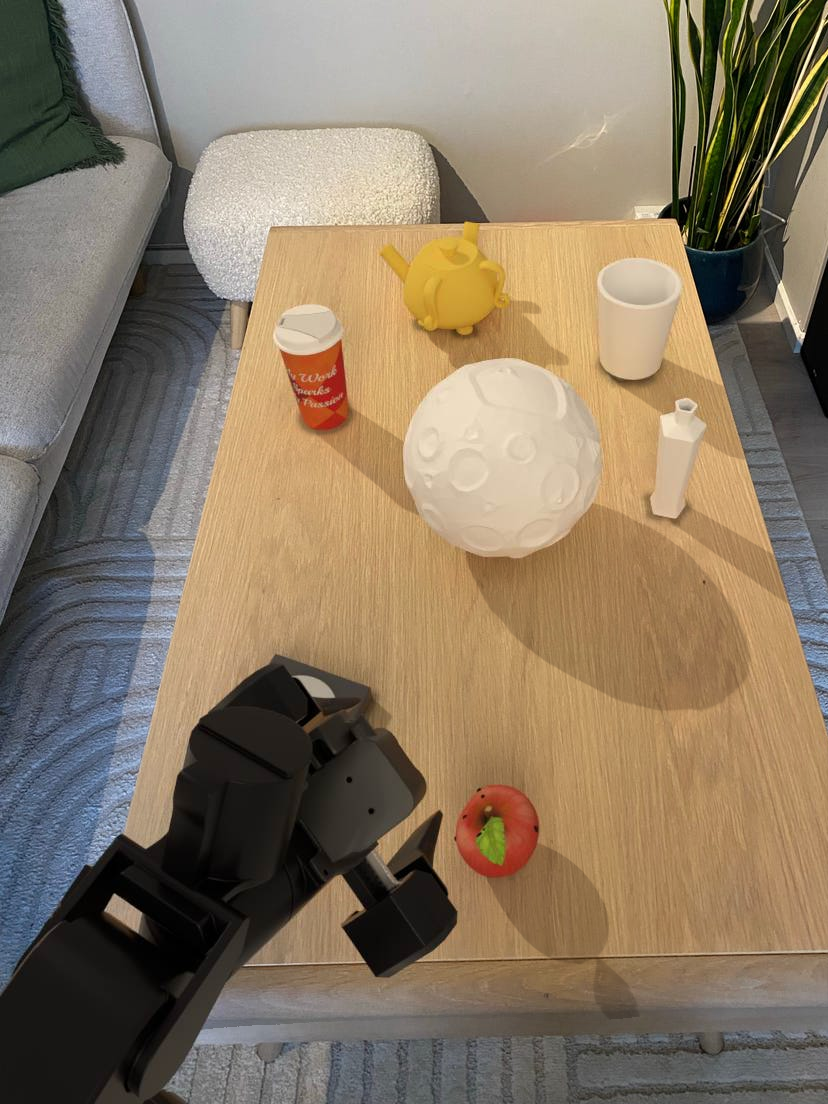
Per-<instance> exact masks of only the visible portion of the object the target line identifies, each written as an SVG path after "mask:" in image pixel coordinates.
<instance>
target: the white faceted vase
mask: <svg viewBox="0 0 828 1104" xmlns="http://www.w3.org/2000/svg"><path fill="white" fill-rule="evenodd" d="M674 403H675V408H674V411H673V412H670V413H665V414H662V415H660V417H659V430H658V444H657V457H656V474H655V483H654V485H655V486H654V491H653V492H652V494H651V495H650V497H649V500H650V505H651V511H652V513H653V515H655V516H660V517H664V518H670V519H677V518H678V517H679V515H680V514H681V513H682V511H683V510H684V509H685V507H686V505H687V504H686V499H685V494H686V491H687V488H688V485H689V482H690V478H691V476H692V472H693V469H694V466H695V463H696V460H697V458H698V457H697V456H698V453H699V451H700V447H701V444H702V441H703V438H704V435H705V432H706V428H707V425H708V424H707V423H706V422H704V421H703V420H702V419H700V418H699V417H698V416H697V415H695V414H696V409H697V408H698V407H699V406H698V404H697V403H696V402H695V401H693V399H691V398H690V397H684V398H680V399H677V400H675V402H674Z"/></svg>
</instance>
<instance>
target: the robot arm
mask: <svg viewBox="0 0 828 1104" xmlns="http://www.w3.org/2000/svg"><path fill="white" fill-rule="evenodd" d="M269 663H270V662H269ZM269 663H268V664H267V665H264V666H263V667H261V668H259V669H257V670H256V671H254V672H253V673H251V674H250V675H248V676H247V677H246V678H244V679H243V680H242V681H241V682H240V683H238V685H236V687H234V688H233V689H232V690H231V691H230V692H229V693H228V694H226V695H225V696H224V697H223V698H222V699H221V700H219V702H217V704H215V705H214V706H213V707H212V708H211V709H210V710H209V711H208V712H207V713H206V714H204V715H203V716H201V717H200V718H199V719H198V722H197V724H195V726H194V727H193V728H192V730H191V732H190V735H189V738H188V741H187V748H186V751H185V757H184V761H183V765H182V769H181V770H179V773H178V774H177V775H176V779H175V785H174V789H173V794H172V811H171V817H170V821H169V826H168V830H167V832H166V833H165V834H164V835H163V836H162V837H161V838H159V839H158V840H157V841H156V842H154V843H152V844H150V846H148V847H147V848H145V847H144V846H143V845H140V844H139V843H138V842H136V841H135V840H133V839H132V838H130V837H129V836H127V835H125V834H124V833H120V834H118V835H117V836H116V837H115V838H114V839H113V840H112V842H111V843H110V844H109V846H107V848H106V849H105V850H104V851H103V852H102V854H101V855H100V857H99V858H98V859H97V860H96V861H95V863H94V864H93V865H90V864H87V863H86V864H84V865H83V867H82V868H81V870H80V871H79V873H78V875H77V876H76V878H75V879H74V881H73V882H72V883H71V885H70V886H69V887H68V889H67V891H65V894H64V895H63V896H62V898H61V900H60V901H59V902H58V904H57V905H56V907H55V908H54V910H53V911H52V913H51V914H50V915H49V917H48V918H47V920H46V922H45V923H44V924H43V926H42V928H41V929H39V931H38V934H37V935H36V936H35V938H34V939H33V940H32V942H31V943H30V944H29V946H28V947H27V948H26V949H25V951H24V952H23V954H22V955H21V957H20V958H19V960H18V961H17V963H16V965H15V967H14V969H13V971H12V973H11V976H10V979H9V980H8V982H6V984H5V986H4V987H3V989H2V990H1V991H0V1104H189V1103H188V1101H186V1100H185V1099H184V1098H182V1096H179V1095H178V1094H177V1093H176V1092H174V1091H171V1090H168V1091H167V1090H166V1089H165V1087H166V1086H167V1085H168V1083H170V1081H171V1080H172V1079H173V1077H174V1076H175V1075H176V1074H177V1072H178V1071H179V1069H180V1068H181V1067H182V1065H183V1064H184V1062H185V1061H186V1059H187V1057H188V1055H189V1053H190V1052H191V1050H192V1048H193V1047H194V1045H195V1042H196V1041H197V1039H198V1037H199V1035H200V1033H201V1031H202V1029H203V1027H204V1026H205V1024H206V1021H207V1020H208V1018H209V1016H210V1014H211V1012H212V1010H213V1008H214V1006H215V1005H216V1002H217V1000H218V999H219V997H220V996H221V993H222V991H223V989H224V987H225V985H226V983H227V982H229V981H230V980H231V979H232V978H233V977H234V976H235V975H236V974H237V973H238V972H239V971H240V970H241V969H242V968H244V966H245V965H246V964H247V963H248V962H249V961H250V960H251V959H253V957H254V956H255V955H256V954H257V953H259V951H261V950H262V949H263V948H264V947H265V946H266V945H267V944H268V943H269V942H270V941H271V940H272V939H273V938H274V937H275V936H276V935H277V934H278V933H279V932H280V931H281V930H282V929H283V928H284V927H285V926H287V924H289V922H291V920H292V919H294V917H295V916H296V915H298V914H299V913H300V912H301V911H302V910H303V909H304V908H306V906H307V905H308V904H309V903H310V902H311V901H312V900H313V899H314V898H315V897H316V896H317V895H318V894H320V893H321V891H322V890H324V888H325V887H326V886H327V885H329V884H330V883H331V881H332V880H333V879H335V878H336V877H338V876H341V877H342V878H343V879H344V881H345V883H346V884H347V885H348V887H349V888H350V890H351V891H352V893H353V894H354V895H355V897H356V898H357V900H358V901H359V903H360V904H361V906H362V907H363V909H361V910H355V911H353V912H352V913H351V914H349V915H348V916H347V917H346V918H345V920H344V921H343V922H342V923H340V926H341V928H342V930H343V931H344V933H345V935H346V936H347V937H348V939H349V940H350V942H351V943H352V945H353V946H354V948H355V949H356V950H357V952H358V953H359V955H360V957H361V958H362V960H363V961H364V962H365V964H366V965H367V967H368V968H369V969H370V971H371V973H372V974H373V975H374V978H383V979H385V978H386V979H390V978H391V977H393V976H394V975H396V974H398V973H400V972H402V971H403V970H404V969H406V968H408V967H409V966H411V965H412V964H414V963H415V962H417V961H419V960H421V959H423V958H424V957H425V956H427V955H429V954H430V953H432V952H433V951H435V950H436V949H437V948H439V946H440V945H441V944H442V943H444V942H445V941H446V940H447V939H448V936H449V935H450V934H451V933H452V931H453V930H454V928H455V927H456V926H457V925H458V910H457V908H456V907H455V906H454V904H453V903H452V902H451V900H450V898H449V889H448V887H447V886H446V884H445V882H444V881H443V880H442V879H441V877H440V876H439V874H438V873H437V872H436V870H435V868H434V860H435V859H434V858H435V852H436V847H437V843H438V839H439V835H440V831H441V830H440V829H441V825H442V821H443V817H444V814H443V812H442V810H441V809H438V810H436V811H435V812H434V813H432V814H430V816H428V817H427V818H426V819H425V820H424V821H423V822H422V823H421V824H420V825H418V827H417V828H415V829H414V830H413V832H412V833H411V834H410V835H409V837H408V838H407V839H406V840H405V841H404V843H403V844H402V845H401V846H400V848H399V849H398V850H397V851H396V853H395V854H394V855H393V856H392V858H390V860H389V861H388V862H387V864H386V862H385V861H384V860H383V858H382V857H381V856H380V854H379V853H378V851H377V850H376V848H377V847H378V846H379V845H380V844H379V842H378V841H379V840H380V839H382V838H383V837H384V836H385V835H387V834H388V833H389V832H391V831H392V830H393V829H395V828H396V827H397V826H398V825H400V824H401V823H402V822H403V821H405V820H406V819H407V818H409V817H410V816H411V814H412V813H413V812H414V810H415V809H416V808H417V807H418V806H419V804H420V803H421V802H422V801H423V799H424V798H425V797H426V793H427V790H428V789H427V788H428V786H427V781H426V778H425V777H424V775H423V773H422V772H421V771H420V770H419V769H418V768H417V767H416V765H414V763H413V761H412V760H411V759H410V757H409V756H408V755H407V754H406V752H405V751H404V749H403V748H402V746H401V745H400V743H399V741H398V739H397V737H396V736H395V735H394V734H393V732H392V731H390V730H389V729H387V728H385V727H373V726H372V724H371V723H370V721H368V719H367V718H366V716H365V714H364V715H363V714H361V715H360V716H359V717H357V718H356V719H352V718H351V717H350V716H349V715H348V712H349V711H351V710H352V709H353V708H355V707H356V706H357V705H358V704H360V703H361V702H362V700H361V699H360V698H359V697H337V698H320V697H312V696H311V695H310V693H309V692H308V690H307V689H306V688H305V686H304V685H303V683H302V682H301V681H300V679H298V678H297V677H292V676H291V675H290V673H289V672H288V670H287V669H286V668H285V666H284V665H283V664H279V663H275V662H272V663H270V664H269ZM343 750H344V751H343ZM342 751H343V752H342ZM338 754H339V755H338ZM333 758H334V759H333ZM329 761H330V762H329ZM328 762H329V763H328ZM325 764H326V765H325ZM114 895H116V896H117V897H119V898H120V899H121V900H122V901H124V902H126V903H127V904H129V905H130V906H132V908H134V909H136V910H137V911H138V912H139V913H141V916H140V922H139V927H138V932H137V931H136V930H134V929H133V928H131V927H130V926H129V925H127V924H125V922H123V921H122V920H120V919H118V918H117V917H116V916H115V915H113V914H111V912H107V911H105V910H106V908H107V907H108V905H109V903H110V901H111V900H112V898H113V897H114Z"/></svg>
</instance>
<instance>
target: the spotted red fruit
mask: <svg viewBox="0 0 828 1104" xmlns="http://www.w3.org/2000/svg"><path fill="white" fill-rule="evenodd" d="M539 820H540V819H539V816H538V813H537V810H536V807H534V805H533V803H532V801H531V800H530V799H529V797H527V795H525V793H524V792H522V791H521V790H519V789H518V788H516V787H513V786H510V785H505V784H490V785H485V786H483V787H478V788H476V792H475V793H474V794H473V795H472V797H471V798H470V799H468V802H467V804H466V805H465V806H464V808H463V809H462V811H461V813H460V815H459V817H458V820H457V823H456V826H455V836H454V837H453V839H454V841H455V842H456V843H455V844H456V846H457V847H456V848H457V850H458V852H459V854H460V856H461V858H462V860H463V861H464V863H466V865H467V866H468V867H469V868H470V869H472V870H473V871H474V872H476V873H477V874H479V875H481V876H484V877H486V878H487V877H488V878H494V879H495V878H503V877H504V878H505V877H508V876H511V875H514V874H516V873H517V872H519V871H520V870H521V869H523V867H525V866H526V865H527V864H528V862H529V861H530V859H531V858H532V856H533V855H534V852H535V850H536V847H537V844H538V841H539V836H540V821H539Z"/></svg>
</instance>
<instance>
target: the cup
mask: <svg viewBox="0 0 828 1104" xmlns="http://www.w3.org/2000/svg"><path fill="white" fill-rule="evenodd" d="M596 279H597V280H596V282H597V283H596V285H597V286H596V287H597V289H596V290H597V315H598V317H597V318H598V341H599V343H598V344H599V361H600V362H599V363H600V366H601V367H602V368H603V369H604V371H606V372H607V373H608V374H610V375H611V376H612V377H613V378H614V379H615V380H616V381H617V382H621V383H622V382H627V381H635V380H636V381H637V380H640V381H648V380H650V379H651V378H652V377H653V376H654V375H655V374H656V373H657V372H658V370H660V368H661V365H662V362H663V359H664V354H665V352H666V347H667V344H668V341H669V338H670V334H671V330H672V326H673V323H674V319H675V316H676V312H677V309H678V305H679V302H680V298H681V295H682V291H683V289H684V288H683V287H684V286H683V285H684V284H683V280H682V278H681V276H680V273H678V272H677V270H675V268H673V267H672V266H670V265H668V264H666V263H664V262H661V261H658V260H656V259H651V258H647V257H646V258H645V257H629V258H622V259H619V260H616V261H613V262H611V263H609V264H608V265H605V266H604V267H603V268H602V269H600V271H599V273H598V275H597V278H596Z"/></svg>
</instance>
